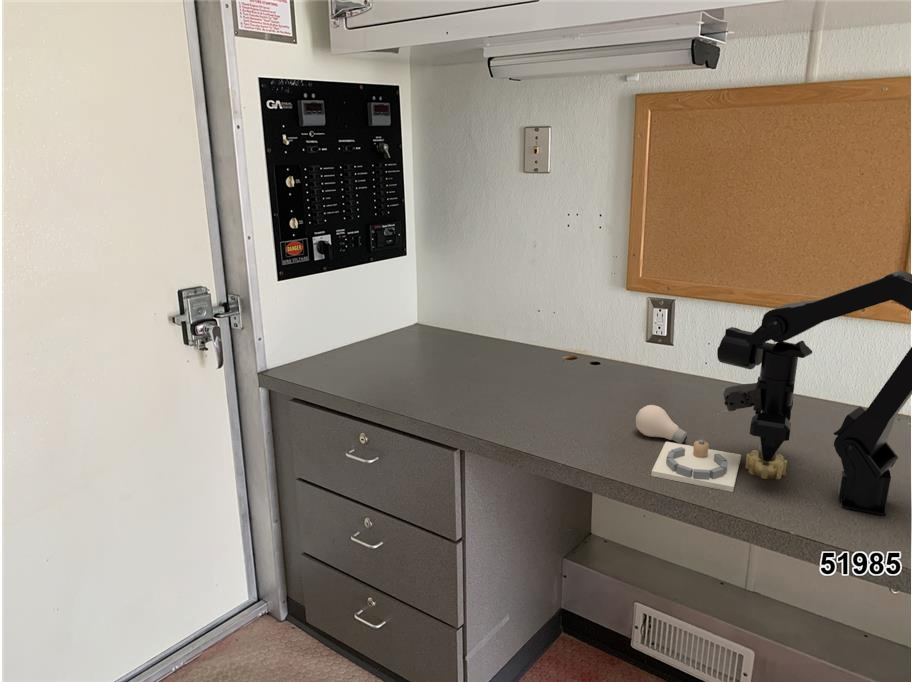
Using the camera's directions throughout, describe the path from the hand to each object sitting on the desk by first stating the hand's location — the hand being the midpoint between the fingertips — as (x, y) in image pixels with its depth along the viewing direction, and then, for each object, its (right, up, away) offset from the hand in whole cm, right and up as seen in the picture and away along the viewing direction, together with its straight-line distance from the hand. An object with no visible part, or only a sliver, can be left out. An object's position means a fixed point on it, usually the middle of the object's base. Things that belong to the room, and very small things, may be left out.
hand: (767, 455), depth 130 cm
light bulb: (-15, +1, +15) cm, 22 cm away
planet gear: (0, -3, +1) cm, 3 cm away
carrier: (-12, -3, +2) cm, 13 cm away
